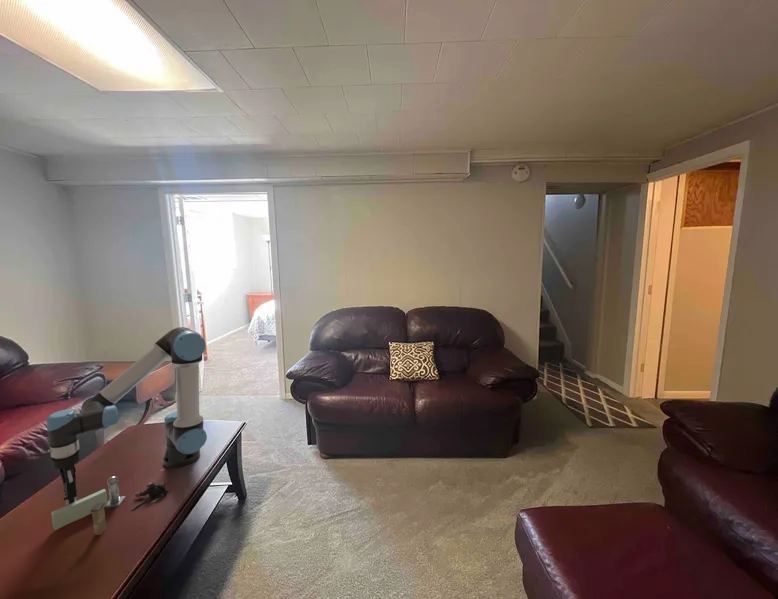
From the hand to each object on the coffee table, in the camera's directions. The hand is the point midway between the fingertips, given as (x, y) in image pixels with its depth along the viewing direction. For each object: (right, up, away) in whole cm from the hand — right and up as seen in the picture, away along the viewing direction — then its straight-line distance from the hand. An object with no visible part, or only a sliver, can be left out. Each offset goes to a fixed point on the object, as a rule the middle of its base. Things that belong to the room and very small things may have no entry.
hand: (72, 512), depth 127 cm
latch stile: (+16, -3, -6) cm, 17 cm away
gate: (+4, -1, 0) cm, 4 cm away
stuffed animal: (+21, -1, +11) cm, 24 cm away
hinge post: (+10, -1, +8) cm, 12 cm away
